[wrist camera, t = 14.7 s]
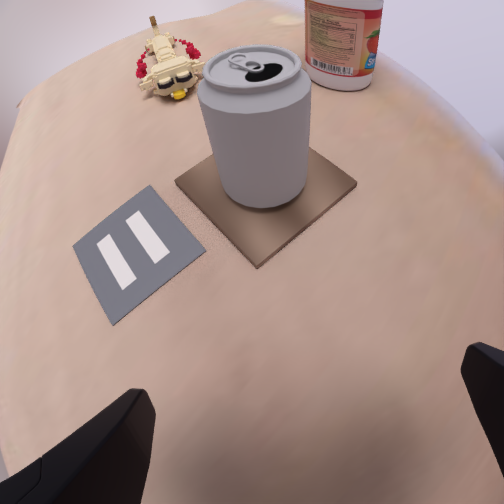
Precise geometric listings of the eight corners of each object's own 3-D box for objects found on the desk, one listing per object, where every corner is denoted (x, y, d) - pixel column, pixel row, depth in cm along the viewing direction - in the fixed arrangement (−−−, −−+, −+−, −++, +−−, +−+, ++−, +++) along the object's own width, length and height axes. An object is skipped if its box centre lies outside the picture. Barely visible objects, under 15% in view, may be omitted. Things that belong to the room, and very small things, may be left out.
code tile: (112, 325, 22) (112, 325, 22) (73, 246, 26) (72, 245, 26) (206, 250, 25) (206, 250, 24) (150, 185, 29) (149, 184, 28)
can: (270, 230, 24) (257, 104, 13) (205, 186, 27) (167, 73, 16) (322, 174, 26) (334, 56, 16) (259, 140, 29) (246, 32, 18)
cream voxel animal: (138, 61, 47) (144, 114, 34) (125, 24, 39) (122, 57, 26) (186, 44, 48) (218, 88, 34) (176, 7, 40) (205, 28, 27)
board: (257, 268, 23) (256, 265, 23) (175, 184, 28) (174, 180, 28) (356, 186, 26) (357, 181, 26) (268, 124, 31) (268, 120, 30)
